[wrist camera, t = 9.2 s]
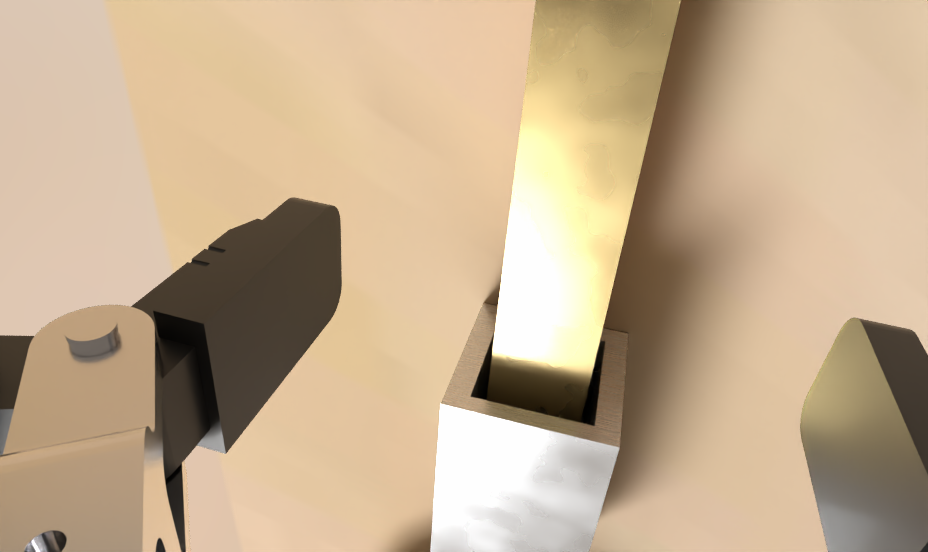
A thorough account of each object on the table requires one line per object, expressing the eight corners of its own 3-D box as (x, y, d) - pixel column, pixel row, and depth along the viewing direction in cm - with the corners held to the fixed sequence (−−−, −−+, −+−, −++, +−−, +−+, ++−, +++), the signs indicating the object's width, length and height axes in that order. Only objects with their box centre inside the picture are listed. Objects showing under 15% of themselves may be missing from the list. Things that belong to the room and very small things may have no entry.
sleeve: (628, 333, 30) (619, 447, 24) (575, 531, 38) (558, 653, 32) (483, 302, 31) (440, 404, 25) (461, 501, 39) (426, 613, 33)
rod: (733, -246, 18) (749, -276, 14) (583, 391, 31) (573, 454, 27) (585, -254, 18) (568, -283, 15) (500, 372, 32) (481, 431, 28)
